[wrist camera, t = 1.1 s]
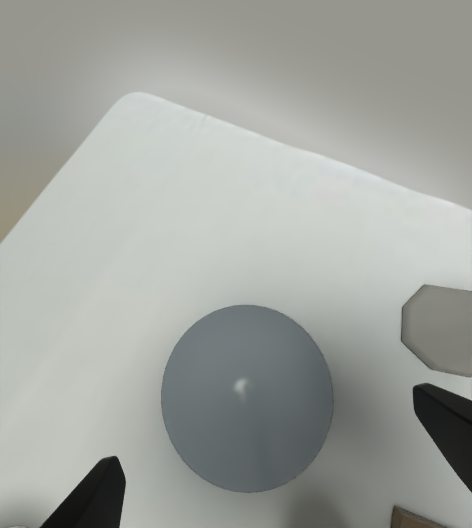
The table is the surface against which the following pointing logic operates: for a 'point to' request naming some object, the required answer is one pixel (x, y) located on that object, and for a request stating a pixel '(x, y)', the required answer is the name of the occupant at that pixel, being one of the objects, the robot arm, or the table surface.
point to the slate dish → (247, 398)
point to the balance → (410, 520)
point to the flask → (440, 328)
